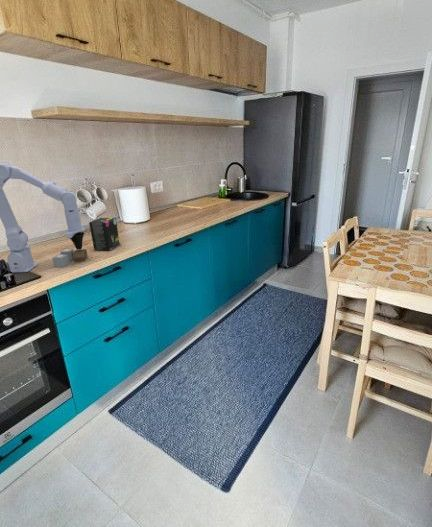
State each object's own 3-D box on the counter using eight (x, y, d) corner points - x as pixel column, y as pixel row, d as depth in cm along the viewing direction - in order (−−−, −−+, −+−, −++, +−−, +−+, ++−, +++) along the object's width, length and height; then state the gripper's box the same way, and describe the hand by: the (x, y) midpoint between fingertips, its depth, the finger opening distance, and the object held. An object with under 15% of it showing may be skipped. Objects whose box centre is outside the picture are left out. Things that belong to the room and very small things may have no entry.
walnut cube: (84, 261, 142) (82, 252, 140) (74, 261, 142) (72, 252, 140) (88, 258, 146) (86, 249, 145) (78, 258, 146) (76, 249, 145)
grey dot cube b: (63, 267, 135) (60, 257, 134) (54, 267, 136) (52, 257, 135) (69, 264, 139) (67, 254, 138) (61, 263, 141) (59, 253, 139)
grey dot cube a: (72, 260, 144) (70, 251, 142) (62, 261, 143) (60, 252, 141) (74, 257, 148) (73, 248, 146) (64, 258, 147) (62, 249, 145)
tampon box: (110, 251, 155) (105, 222, 150) (93, 250, 157) (88, 222, 152) (120, 244, 165) (116, 217, 160) (104, 244, 167) (100, 217, 162)
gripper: (75, 223, 131) (81, 253, 135) (88, 215, 144) (93, 243, 149) (58, 223, 131) (65, 254, 135) (73, 216, 144) (78, 244, 149)
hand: (79, 248), depth 142 cm, fingers closed
